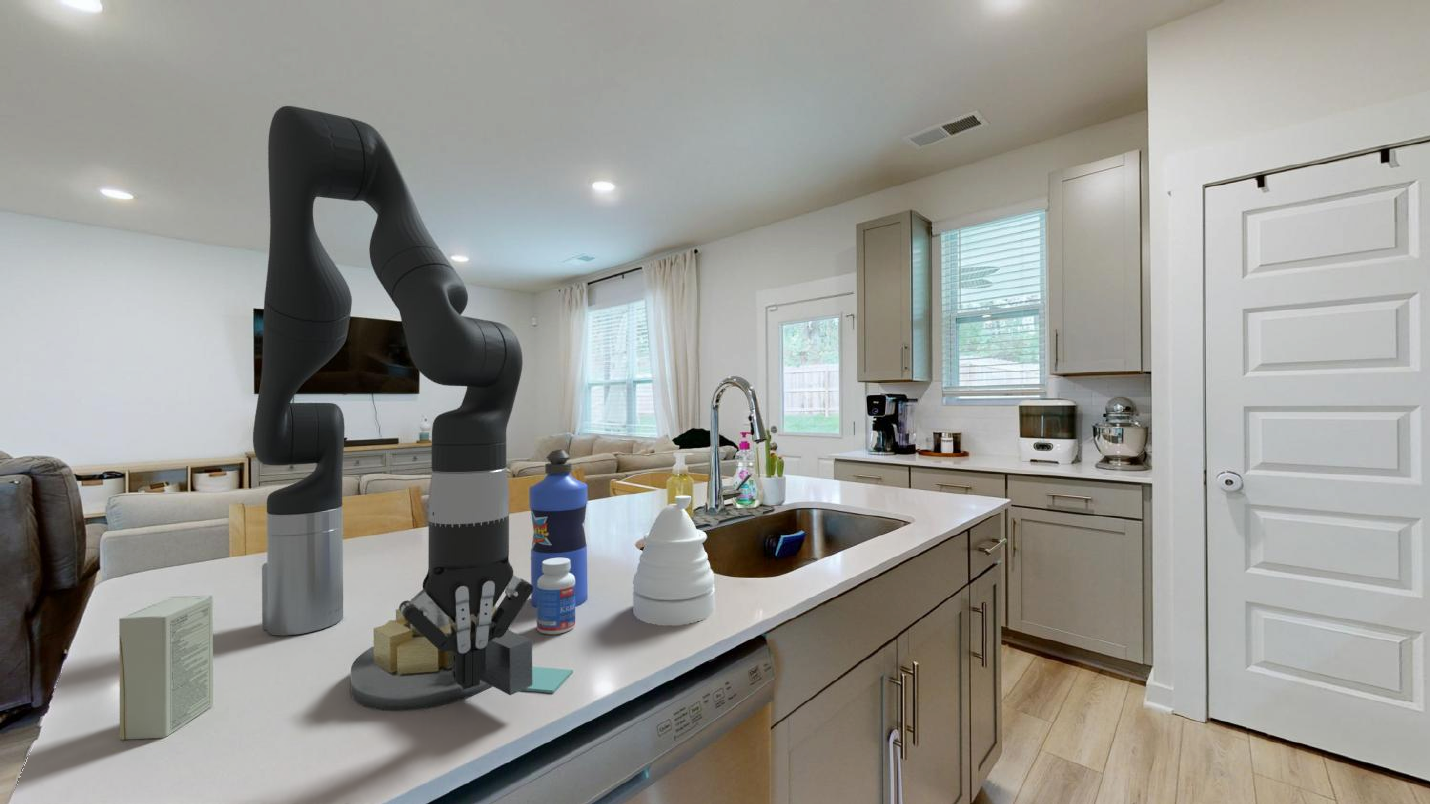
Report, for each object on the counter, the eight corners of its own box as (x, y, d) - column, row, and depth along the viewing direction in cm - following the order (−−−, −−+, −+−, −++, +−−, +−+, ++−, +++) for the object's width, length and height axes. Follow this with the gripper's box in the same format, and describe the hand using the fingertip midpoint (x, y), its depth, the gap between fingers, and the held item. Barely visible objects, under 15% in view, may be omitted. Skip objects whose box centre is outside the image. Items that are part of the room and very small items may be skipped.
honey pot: (730, 604, 91) (728, 493, 91) (683, 632, 80) (682, 505, 80) (666, 591, 98) (665, 487, 98) (616, 615, 87) (614, 498, 87)
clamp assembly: (358, 653, 68) (358, 613, 68) (461, 620, 78) (460, 585, 78) (462, 718, 54) (461, 667, 54) (571, 667, 64) (570, 624, 64)
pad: (504, 688, 65) (504, 686, 65) (527, 668, 70) (527, 666, 70) (553, 693, 63) (553, 690, 63) (572, 672, 68) (572, 670, 68)
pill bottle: (565, 637, 79) (564, 567, 79) (529, 634, 80) (529, 565, 80) (581, 622, 84) (581, 556, 85) (548, 619, 86) (548, 555, 86)
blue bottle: (546, 615, 87) (544, 453, 88) (520, 600, 94) (519, 450, 95) (599, 600, 94) (597, 449, 94) (571, 587, 101) (570, 447, 101)
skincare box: (172, 708, 61) (171, 595, 61) (216, 706, 62) (215, 594, 62) (116, 742, 55) (115, 617, 55) (165, 739, 55) (164, 615, 56)
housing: (310, 702, 62) (310, 620, 62) (425, 636, 80) (424, 572, 80) (456, 718, 59) (455, 631, 59) (542, 645, 76) (541, 578, 76)
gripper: (404, 528, 50) (404, 723, 50) (547, 511, 59) (547, 678, 59) (388, 516, 56) (388, 691, 56) (520, 501, 65) (520, 654, 64)
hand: (469, 684), depth 57 cm, fingers closed
